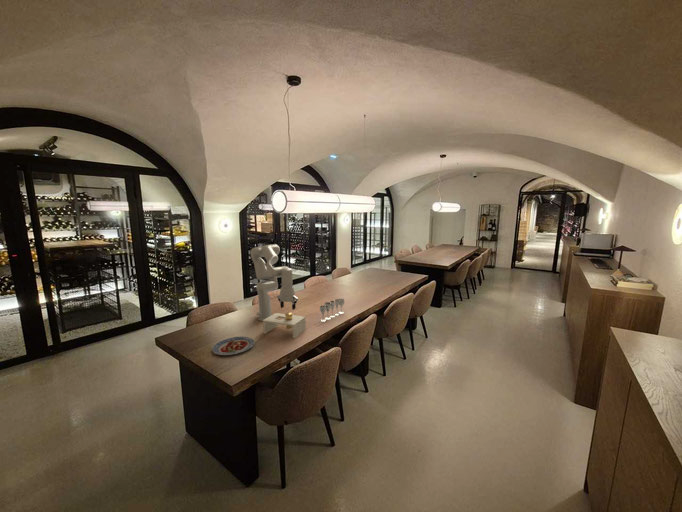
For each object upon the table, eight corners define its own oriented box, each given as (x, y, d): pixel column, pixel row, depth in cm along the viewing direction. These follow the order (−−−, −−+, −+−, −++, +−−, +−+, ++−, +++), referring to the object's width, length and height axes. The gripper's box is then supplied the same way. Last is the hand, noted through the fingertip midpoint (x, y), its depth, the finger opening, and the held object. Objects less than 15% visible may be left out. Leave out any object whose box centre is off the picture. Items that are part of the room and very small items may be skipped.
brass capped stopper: (284, 328, 206) (283, 314, 205) (288, 325, 211) (287, 312, 209) (290, 329, 205) (289, 315, 203) (294, 326, 209) (293, 313, 208)
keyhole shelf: (263, 333, 207) (262, 320, 206) (276, 325, 222) (275, 313, 220) (294, 338, 198) (294, 324, 196) (305, 329, 212) (305, 316, 211)
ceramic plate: (225, 338, 200) (224, 334, 199) (260, 339, 197) (260, 335, 197) (204, 357, 175) (203, 352, 174) (244, 358, 172) (243, 354, 171)
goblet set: (323, 322, 226) (323, 306, 224) (318, 320, 230) (318, 304, 228) (346, 312, 247) (345, 297, 245) (341, 311, 251) (340, 296, 249)
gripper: (273, 285, 203) (274, 308, 206) (295, 288, 197) (295, 311, 200) (279, 283, 210) (280, 305, 213) (300, 285, 204) (301, 308, 207)
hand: (288, 308), depth 206 cm, fingers open, 9 cm apart
